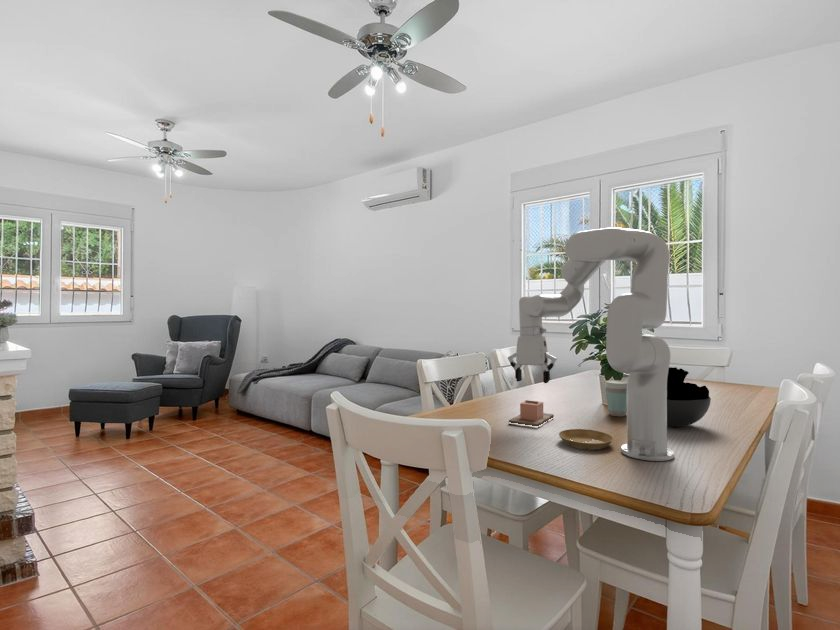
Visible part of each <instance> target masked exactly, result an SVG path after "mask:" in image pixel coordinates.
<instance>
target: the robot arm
mask: <svg viewBox="0 0 840 630" xmlns="http://www.w3.org/2000/svg"><path fill="white" fill-rule="evenodd" d="M564 254H565V255H566V257H567V258H568V259H567V260H566V262H565V263H564V264H563V265H562V267H561V269H560V274H561V276H562V278H563V280H564V281H565V282H566V283H567V284H566V286H564V288H563V289H562V291H560V293H558V294H536V295H533V296H532V295H531V296H522V297H520V298H519V300H518V309H519V310H518V313H519V314H518V316H519V335H518V336H517V340H516V341H517V343H516V352H515V353H513V354H511V355H509V356H508V357H507V360H508V363H510V366H511V367H512V368H513V370H514V373H515V376H514V378H515V379H516V380H515V381H516V382H521V381H522V380H523V374H522V369H521V368H522V367H523V366H540V367H542V369H543V370H544V371H543V372H542V375H543V383H544V384H547V383H549V381H550V380H551V376H550V375H551V373H550V371H552V369H553V368H554V367H555V365H556V363H557V361H558V358H557V357H555V356H554V355H552V354H550V353H549V351H548V345H547V338H546V336H545V335H544V334H546V333H547V329H546V328H544V326H543V318H554V317H555V318H558V317H559V318H560V317H564V316H566V315H568V314H569V313H571V311H573V309H574V308H575V307H576V306H577V305H578V304H579V303H580V301H581V300H582V298H583V295H584V292H585V284H586V283H587V282H588V281H589V279H590V278H591V277H593V275H594V274H595V273H596V272H597V271H598V270H599V269H600V268H601V266H602V265H603V264H604V263H606V261H621V262H634V263H636V266H634V269H633V272H632V273H631V274H632V275H631V284H630V285H631V286H630V292H627V293H623V294H620V295H617V296H616V297H615V298H614V299H613V300H612V301H611V303H610V304H609V307H608V310H607V314H606V315H607V316H606V335H605V336H606V337H605V338H606V339H605V340H606V341H605V352H606V353H605V355H606V359H607V362H608V364H609V366H610V367H611V368H612V369H613V370H614V371H616V372H617V373H621V374H628V377H627V381H626V382H627V412H626V440H627V441H626V443H624V444H622V445H621V446H620V452H621V453H622V454H624V455H625V456H627V457H630V458H633V459H636V460H644V461H652V462H665V461H669V460H673V459H674V457H675V452H674V451H673V450H672V449H671V448H669V447H668V425H667V376H668V369H669V367H670V363H671V350H670V349H671V348H670V347H669V344H668V343H667V342H666V341H665V340H664V339H663V338H662V337H660V336H657V335H656V334H655V335H654V334H649V333H648V334H643V331H644V330H654V329H658V328H659V327H661V326H662V325H663V324H664V323H665V321H666V317H667V305H668V304H667V303H668V274H669V267H670V266H669V265H670V250H669V247H668V245H667V242H666V241H665V240H664V239H663V238H662V237H661V236H659V235H657V234H655V233H652V232H650V231H646V230H642V229H633V228H623V227H604V228H598V229H589V230H583V231H578V232H575V233H574V234H572V235H570V236H569V238H568V239H567V240H566V243H565V246H564ZM515 359H516V361H515ZM549 360H551V361H550V363H549ZM548 363H549V364H548Z"/></svg>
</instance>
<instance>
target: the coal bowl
mask: <svg viewBox="0 0 840 630" xmlns="http://www.w3.org/2000/svg"><path fill="white" fill-rule="evenodd" d="M689 374H690V373H689V371H687V370H684V369H683V368H678V367H670V366H669V369H668V376H667V426H671V427H686V426H691V425H693V424H695V423H697V422H698V421H700V420H702V419H703V417H704V416H705V415H706V414H707V412H708V410H709V408H710V405H711V400H712V399H711V397H710V389H708V387H707V386H706V385H702V386H700V385H697V383H692V382H685V379H686V377H687V376H688V375H689Z"/></svg>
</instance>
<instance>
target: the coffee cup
mask: <svg viewBox="0 0 840 630" xmlns="http://www.w3.org/2000/svg"><path fill="white" fill-rule="evenodd" d="M604 388H605V394H606V404H607V411H608V415H610V416H613V417H627V381H626V380H615V379H612V380H606V381H605V383H604Z"/></svg>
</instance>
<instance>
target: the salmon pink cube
mask: <svg viewBox="0 0 840 630" xmlns="http://www.w3.org/2000/svg"><path fill="white" fill-rule="evenodd" d="M519 404H520V405H519V408H520V409H519V411H520V412H519V413H520V414H519V415H520V418H525V419H533V420H538V419H540V418H542V417H543V413H544V402H543V401H537V400H529V399H527V400H525V401H523V402H520V403H519Z"/></svg>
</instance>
